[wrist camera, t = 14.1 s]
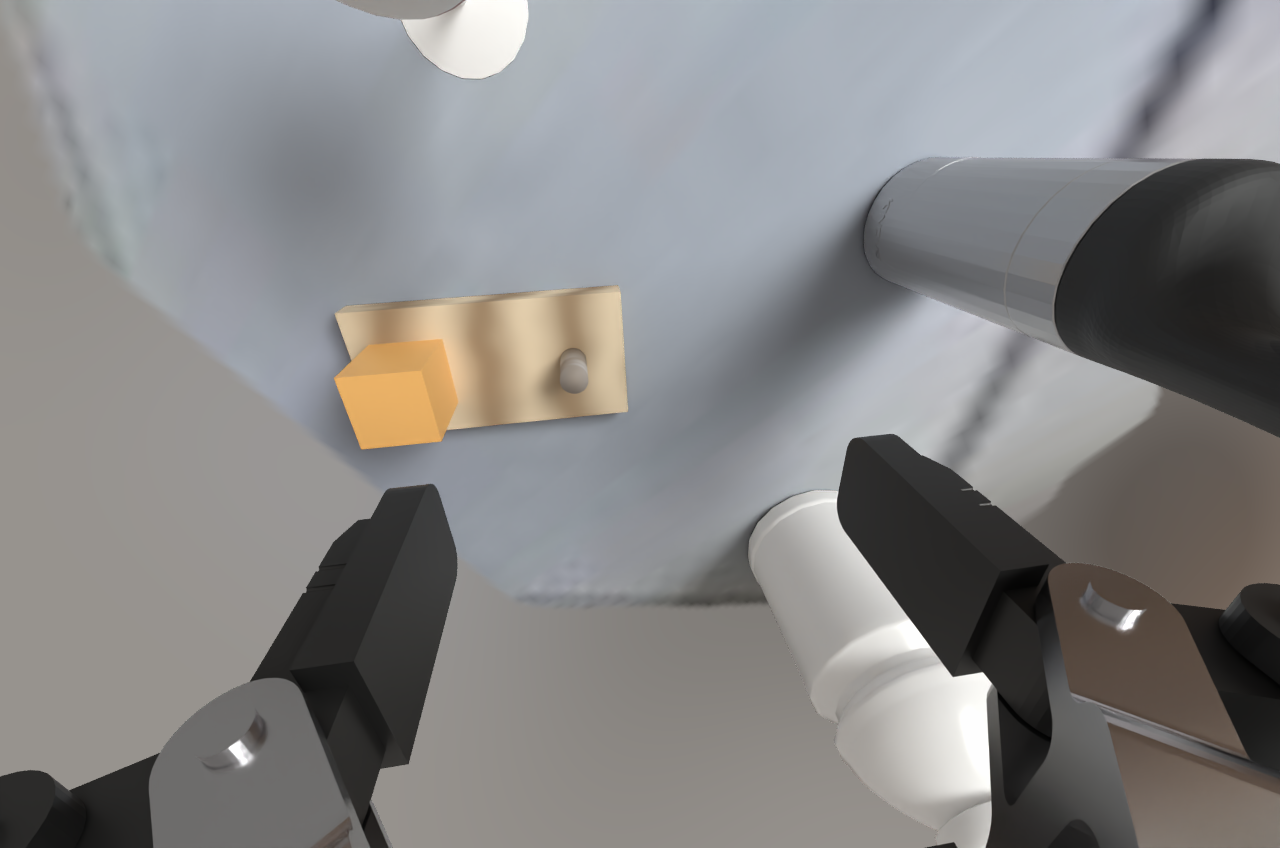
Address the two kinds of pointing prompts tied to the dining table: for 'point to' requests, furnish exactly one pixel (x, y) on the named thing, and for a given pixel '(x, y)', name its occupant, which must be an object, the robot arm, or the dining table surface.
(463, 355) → the wooden peg rack
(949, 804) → the bottle
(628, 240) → the dining table surface
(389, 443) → the wooden toy cube
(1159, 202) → the robot arm
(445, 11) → the wineglass
